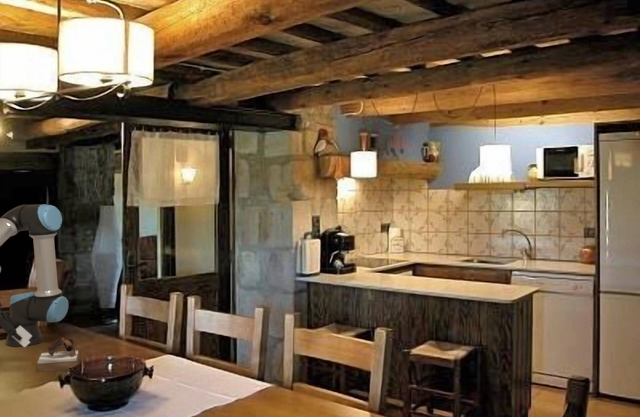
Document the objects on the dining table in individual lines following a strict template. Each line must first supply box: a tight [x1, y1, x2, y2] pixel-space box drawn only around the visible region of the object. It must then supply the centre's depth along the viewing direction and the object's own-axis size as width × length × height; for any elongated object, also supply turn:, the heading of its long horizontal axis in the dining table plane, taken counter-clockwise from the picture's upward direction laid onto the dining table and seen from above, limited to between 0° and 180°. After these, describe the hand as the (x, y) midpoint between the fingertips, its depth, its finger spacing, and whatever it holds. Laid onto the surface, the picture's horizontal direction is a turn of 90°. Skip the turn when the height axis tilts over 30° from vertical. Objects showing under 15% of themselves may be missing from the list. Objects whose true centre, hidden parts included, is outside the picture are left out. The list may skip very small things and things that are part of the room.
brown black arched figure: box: [47, 337, 76, 357], centre depth 247 cm, size 12×10×8 cm
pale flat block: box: [37, 349, 80, 373], centre depth 246 cm, size 14×14×4 cm
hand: (28, 341), depth 243 cm, fingers open, 13 cm apart
